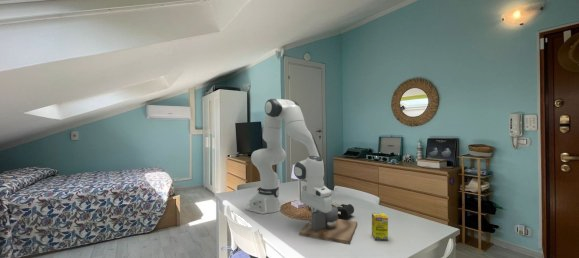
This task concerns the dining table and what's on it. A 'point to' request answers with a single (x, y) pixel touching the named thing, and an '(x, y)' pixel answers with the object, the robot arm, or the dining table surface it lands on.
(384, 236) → the supplement box
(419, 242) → the dining table surface
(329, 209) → the robot arm
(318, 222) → the coupling
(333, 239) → the mount plate
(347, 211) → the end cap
